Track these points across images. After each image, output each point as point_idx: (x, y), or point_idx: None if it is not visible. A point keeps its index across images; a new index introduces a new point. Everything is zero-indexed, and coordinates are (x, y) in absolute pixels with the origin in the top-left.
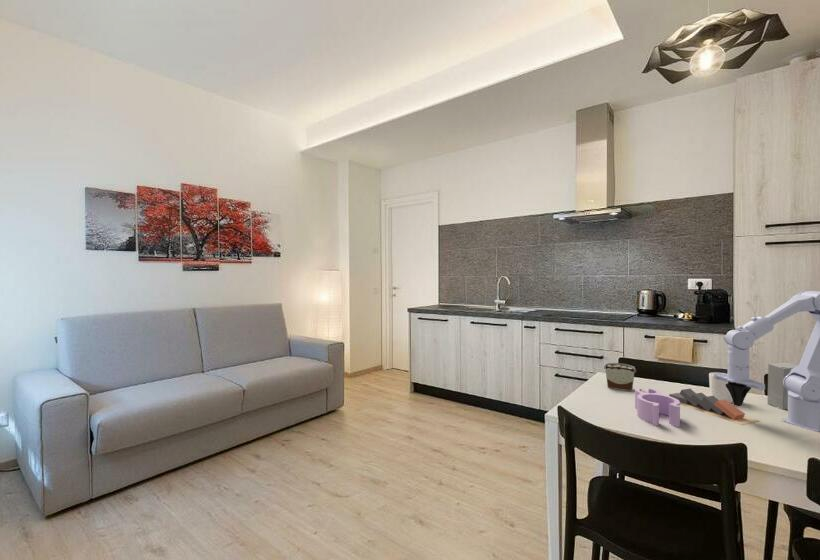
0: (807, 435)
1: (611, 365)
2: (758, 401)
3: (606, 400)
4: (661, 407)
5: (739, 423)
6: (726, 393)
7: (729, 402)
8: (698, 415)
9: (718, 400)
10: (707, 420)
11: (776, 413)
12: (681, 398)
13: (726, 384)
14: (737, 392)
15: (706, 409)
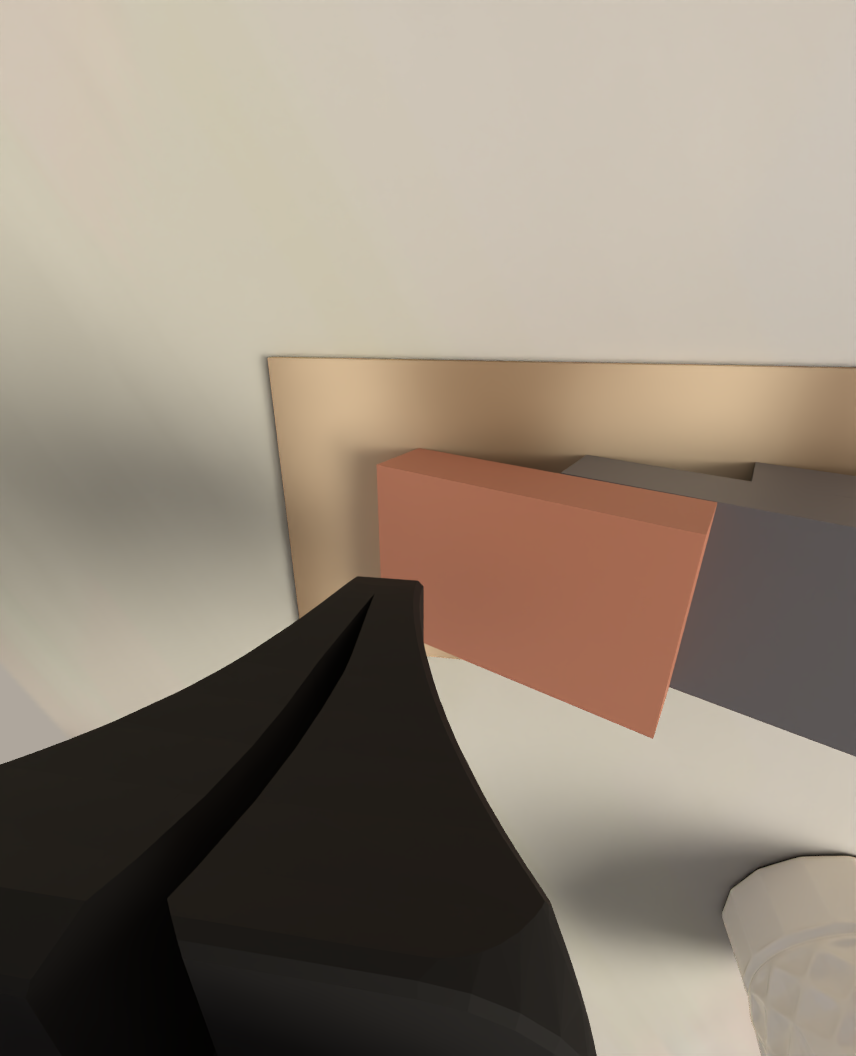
0: (9, 639)
1: None
2: (613, 1035)
3: None
4: None
5: (309, 378)
6: (804, 1000)
7: (580, 705)
8: (785, 165)
9: (745, 699)
10: (581, 67)
11: None
12: None
13: (503, 1041)
14: (162, 733)
15: (793, 470)
